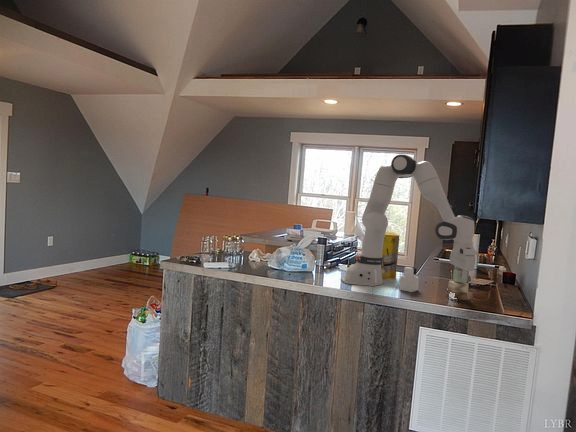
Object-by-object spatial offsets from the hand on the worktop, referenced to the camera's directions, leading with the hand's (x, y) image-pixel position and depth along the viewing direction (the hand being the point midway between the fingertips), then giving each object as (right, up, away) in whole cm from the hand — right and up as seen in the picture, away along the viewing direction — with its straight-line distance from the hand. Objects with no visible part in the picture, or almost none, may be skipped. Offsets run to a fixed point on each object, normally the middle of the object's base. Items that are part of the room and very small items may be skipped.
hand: (460, 276), depth 231 cm
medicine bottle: (-22, -9, +11) cm, 26 cm away
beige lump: (-1, -11, +1) cm, 11 cm away
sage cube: (0, -2, 0) cm, 2 cm away
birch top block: (-1, -7, 0) cm, 7 cm away
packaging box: (-31, -5, +45) cm, 55 cm away
